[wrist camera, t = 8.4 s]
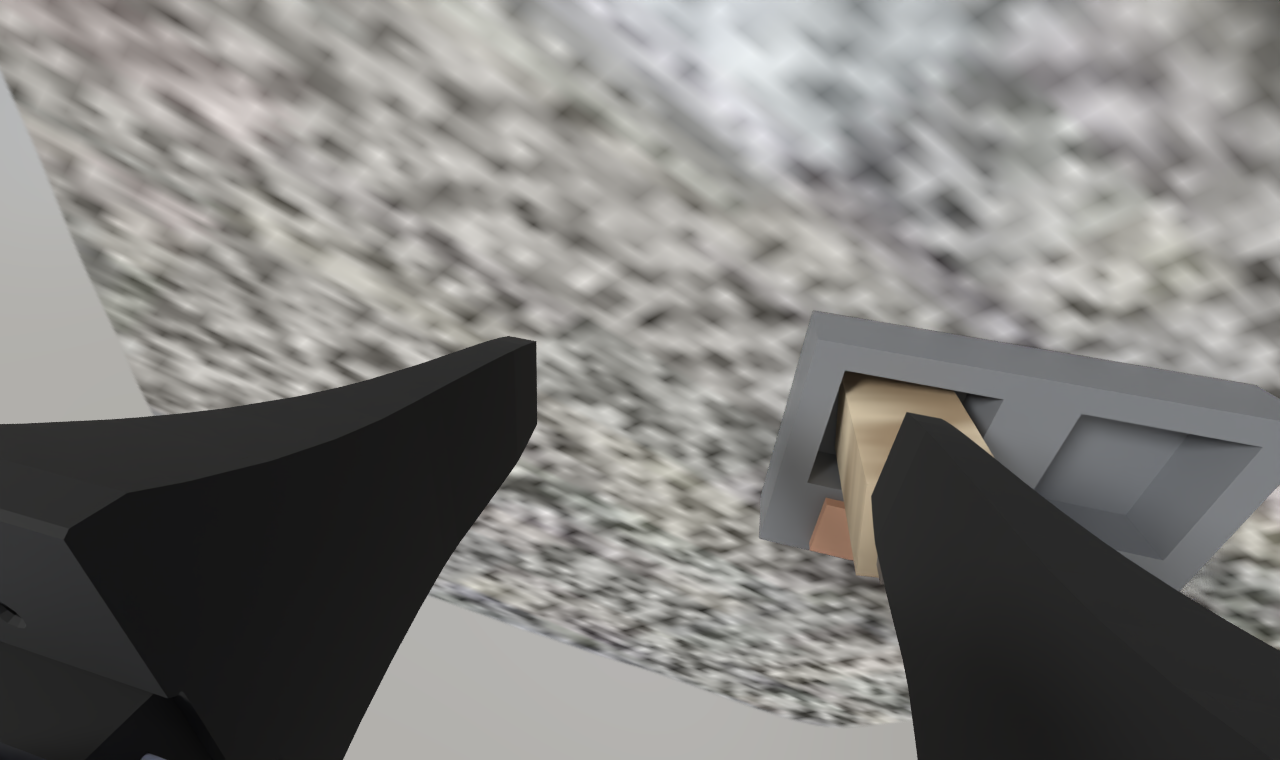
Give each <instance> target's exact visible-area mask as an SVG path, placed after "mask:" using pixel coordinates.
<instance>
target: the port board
mask: <svg viewBox="0 0 1280 760" xmlns="http://www.w3.org/2000/svg"><path fill="white" fill-rule="evenodd" d="M845 371H846V372H857V373H862V374H868V375H873V376H879V377H884V378H889V379H895V380H900V381H906V382H911V383H917V384H922V385H927V386H933V387H938V388H944V389H949V390H954V392H955V393H956V395H957V397H958V398H959V400H960V402H961V403H962V405H963V407H964V408H965V410H966V412H967V413H968V415H969V416H970V418H971V420H972V421H973V423H974V425H975V426H976V428H977V430H978V431H979V433H980V435H981V436H982V438H983V440H984V441H985V443H986V445H987V446H988V448H989V450H990V451H991V453H992V455H993V456H994V458H995V459H996V460H997V461H999V462H1000V463H1001V464H1002V465H1004V466H1005V467H1006V468H1007V469H1009V470H1010V471H1011V472H1012V473H1013V474H1015V475H1016V476H1017V477H1018V478H1020V479H1021V480H1022V481H1023V482H1025V483H1026V484H1027V485H1028V486H1030V487H1031V488H1032V489H1034V490H1035V491H1036V492H1037V493H1039V494H1040V495H1041V496H1042V497H1044V498H1045V499H1046V500H1048V501H1049V502H1050V503H1052V504H1053V505H1054V506H1056V507H1057V508H1058V509H1059V510H1061V511H1062V512H1063V513H1065V514H1066V515H1067V516H1069V517H1070V518H1072V519H1073V520H1074V521H1076V522H1077V523H1078V524H1080V525H1081V526H1083V527H1084V528H1085V529H1087V530H1088V531H1089V532H1091V533H1092V534H1093V535H1095V536H1096V537H1098V538H1099V539H1100V540H1102V541H1103V542H1105V543H1106V544H1107V545H1109V546H1110V547H1112V548H1113V549H1115V550H1116V551H1118V552H1119V553H1120V554H1122V555H1123V556H1125V557H1126V558H1128V559H1129V560H1131V561H1132V562H1134V563H1135V564H1137V565H1138V566H1140V567H1142V568H1143V569H1145V570H1146V571H1148V572H1149V573H1151V574H1152V575H1154V576H1156V577H1157V578H1159V579H1160V580H1162V581H1163V582H1165V583H1166V584H1168V585H1169V586H1171V587H1173V588H1174V589H1176V590H1177V591H1180V590H1181V589H1182V588H1183V587H1184V586H1185V585H1186V584H1187V583H1188V582H1189V580H1190V579H1191V578H1192V577H1193V576H1194V575H1195V574H1196V573H1197V572H1198V571H1199V570H1200V569H1201V568H1202V567H1203V566H1204V564H1205V563H1206V562H1207V561H1208V560H1209V559H1210V558H1211V557H1212V556H1213V555H1214V554H1215V553H1216V552H1217V551H1218V550H1219V549H1220V547H1221V546H1222V545H1223V544H1224V543H1225V542H1226V541H1227V540H1228V539H1229V538H1230V537H1231V536H1232V535H1233V534H1234V533H1235V531H1236V530H1237V529H1238V528H1239V527H1240V526H1241V525H1242V524H1243V523H1244V522H1245V521H1246V520H1247V519H1248V518H1249V517H1250V515H1251V514H1252V513H1253V512H1254V511H1255V510H1256V509H1257V508H1258V507H1259V506H1260V505H1261V504H1262V503H1263V502H1264V501H1265V500H1266V498H1267V497H1268V496H1269V495H1270V494H1271V493H1272V492H1273V491H1274V490H1275V489H1276V488H1277V487H1278V486H1279V485H1280V399H1278V398H1277V397H1275V396H1273V395H1272V394H1270V393H1268V392H1267V391H1265V390H1263V389H1262V388H1260V387H1258V386H1257V385H1252V384H1246V383H1240V382H1234V381H1228V380H1222V379H1216V378H1210V377H1204V376H1198V375H1192V374H1186V373H1181V372H1175V371H1169V370H1163V369H1157V368H1151V367H1145V366H1139V365H1133V364H1127V363H1121V362H1115V361H1109V360H1103V359H1098V358H1092V357H1086V356H1080V355H1074V354H1068V353H1062V352H1056V351H1050V350H1044V349H1038V348H1032V347H1026V346H1020V345H1015V344H1009V343H1003V342H997V341H991V340H985V339H979V338H973V337H967V336H961V335H955V334H949V333H943V332H937V331H932V330H926V329H920V328H914V327H908V326H902V325H896V324H890V323H884V322H878V321H872V320H866V319H860V318H854V317H849V316H843V315H837V314H831V313H825V312H819V311H813V312H812V316H811V319H810V323H809V326H808V330H807V333H806V337H805V340H804V344H803V348H802V351H801V355H800V358H799V362H798V365H797V369H796V372H795V376H794V380H793V383H792V387H791V390H790V394H789V397H788V401H787V405H786V408H785V412H784V415H783V419H782V422H781V426H780V429H779V433H778V437H777V440H776V444H775V447H774V451H773V454H772V458H771V461H770V465H769V469H768V472H767V476H766V479H765V483H764V486H763V490H762V493H761V502H760V528H759V539H763V540H768V541H772V542H776V543H780V544H785V545H789V546H793V547H797V548H801V549H806V550H810V551H814V552H818V553H822V554H827V555H831V556H835V557H839V558H843V559H848V560H852V561H854V559H853V553H852V547H851V541H850V535H849V529H848V523H847V517H846V511H845V505H844V500H843V494H842V488H841V482H840V476H839V470H838V464H837V458H836V452H835V436H836V423H837V411H838V398H839V387H840V384H841V381H842V378H843V375H844V372H845Z"/></svg>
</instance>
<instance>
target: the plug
mask: <svg viewBox="0 0 1280 760" xmlns="http://www.w3.org/2000/svg"><path fill="white" fill-rule="evenodd" d="M906 412H909V413H915V414H920V415H925V416H930V417H936V418H941V419H943V420H945V421H947V422H948V423H950V424H951V425H953V426H954V427H955V428H957V429H958V430H960V431H961V432H962V433H964V434H965V435H966V436H967V437H969V438H970V439H971V440H973V441H974V442H975V443H976V444H978V445H979V446H980V447H981V448H983V449H984V450H985V451H986V452H988V453H989V454H990V455H991V456H992V457H994V456H993V455H992V453H991V451H990V450H989V448H988V446H987V445H986V443H985V441H984V440H983V438H982V436H981V435H980V433H979V431H978V430H977V428H976V426H975V425H974V423H973V421H972V420H971V418H970V416H969V415H968V413H967V412H966V410H965V408H964V407H963V405H962V403H961V402H960V400H959V398H958V397H957V395H956V393H955V392H954V390H949V389H944V388H938V387H933V386H927V385H922V384H917V383H911V382H906V381H900V380H895V379H889V378H884V377H879V376H873V375H868V374H862V373H857V372H846V371H845V372H844V375H843V378H842V381H841V384H840V387H839V398H838V411H837V423H836V436H835V452H836V458H837V464H838V470H839V476H840V482H841V488H842V494H843V500H844V505H845V511H846V517H847V523H848V529H849V535H850V541H851V547H852V553H853V559H854V565H855V571H856V575H859V576H869V577H879V580H880V584H881V585H884V581H883V577H882V572H881V568H880V564H879V559H878V555H877V551H876V546H875V539H874V529H873V518H872V503H871V495H872V493H873V490H874V488H875V486H876V483H877V481H878V479H879V476H880V474H881V471H882V469H883V467H884V464H885V462H886V460H887V457H888V455H889V452H890V450H891V448H892V445H893V443H894V441H895V438H896V436H897V433H898V431H899V429H900V426H901V424H902V421H903V419H904V417H905V414H906Z"/></svg>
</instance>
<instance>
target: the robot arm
mask: <svg viewBox="0 0 1280 760" xmlns="http://www.w3.org/2000/svg"><path fill="white" fill-rule="evenodd" d="M536 425H537V370H536V341H531V340H526V339H521V338H516V337H510V336H507V337H502V338H497V339H494V340H490V341H487V342H484V343H481V344H478V345H475V346H472V347H469V348H466V349H463V350H460V351H457V352H454V353H451V354H448V355H445V356H442V357H439V358H437V359H434V360H431V361H428V362H425V363H422V364H419V365H416V366H412V367H409V368H406V369H402V370H399V371H396V372H393V373H389V374H386V375H383V376H380V377H376V378H373V379H370V380H366V381H362V382H359V383H355V384H351V385H347V386H343V387H339V388H334V389H330V390H325V391H321V392H316V393H312V394H307V395H302V396H297V397H292V398H286V399H280V400H274V401H268V402H262V403H255V404H249V405H243V406H237V407H231V408H224V409H216V410H208V411H199V412H191V413H182V414H171V415H161V416H150V417H139V418H125V419H112V420H92V421H70V422H51V423H50V422H49V423H29V424H0V760H343V758H344V756H345V754H346V752H347V750H348V748H349V746H350V743H351V741H352V739H353V737H354V735H355V733H356V731H357V729H358V726H359V724H360V722H361V720H362V718H363V716H364V714H365V712H366V710H367V708H368V706H369V704H370V702H371V700H372V699H373V697H374V695H375V692H376V691H377V689H378V687H379V685H380V683H381V681H382V679H383V676H384V675H385V673H386V671H387V669H388V667H389V665H390V663H391V661H392V659H393V657H394V655H395V653H396V652H397V649H398V648H399V646H400V644H401V642H402V641H403V639H404V637H405V635H406V633H407V631H408V629H409V627H410V626H411V624H412V622H413V620H414V618H415V616H416V615H417V613H418V611H419V609H420V607H421V606H422V603H423V602H424V600H425V599H426V597H427V595H428V593H429V592H430V590H431V588H432V586H433V585H434V583H435V581H436V579H437V578H438V576H439V574H440V572H441V571H442V569H443V567H444V566H445V564H446V562H447V561H448V559H449V558H450V556H451V555H452V553H453V552H454V550H455V549H456V547H457V546H458V544H459V543H460V541H461V540H462V539H463V537H464V536H465V535H466V533H467V532H468V530H469V529H470V528H471V526H472V525H473V524H474V522H475V521H476V519H477V518H478V517H479V515H480V514H481V512H482V511H483V510H484V508H485V507H486V506H487V504H488V503H489V501H490V500H491V499H492V497H493V496H494V495H495V493H496V492H497V490H498V489H499V488H500V486H501V485H502V483H503V482H504V481H505V479H506V478H507V476H508V475H509V474H510V472H511V471H512V469H513V468H514V466H515V465H516V463H517V462H518V460H519V458H520V457H521V455H522V453H523V451H524V449H525V447H526V445H527V443H528V441H529V439H530V437H531V435H532V433H533V431H534V429H535V427H536ZM871 503H872V518H873V529H874V539H875V546H876V551H877V555H878V559H879V564H880V568H881V572H882V577H883V581H884V585H885V589H886V593H887V597H888V601H889V605H890V609H891V614H892V618H893V622H894V626H895V630H896V634H897V638H898V642H899V646H900V650H901V655H902V659H903V663H904V668H905V673H906V679H907V684H908V689H909V696H910V704H911V711H912V719H913V726H914V734H915V741H916V749H917V757H918V760H1280V651H1279V650H1277V649H1275V648H1273V647H1272V646H1270V645H1268V644H1266V643H1265V642H1263V641H1261V640H1259V639H1258V638H1256V637H1254V636H1252V635H1251V634H1249V633H1247V632H1245V631H1244V630H1242V629H1240V628H1239V627H1237V626H1235V625H1233V624H1232V623H1230V622H1228V621H1226V620H1225V619H1223V618H1221V617H1220V616H1218V615H1216V614H1215V613H1213V612H1211V611H1210V610H1208V609H1206V608H1205V607H1203V606H1201V605H1200V604H1198V603H1196V602H1195V601H1193V600H1191V599H1190V598H1188V597H1187V596H1185V595H1183V594H1182V593H1180V592H1179V591H1177V590H1176V589H1174V588H1173V587H1171V586H1169V585H1168V584H1166V583H1165V582H1163V581H1162V580H1160V579H1159V578H1157V577H1156V576H1154V575H1152V574H1151V573H1149V572H1148V571H1146V570H1145V569H1143V568H1142V567H1140V566H1138V565H1137V564H1135V563H1134V562H1132V561H1131V560H1129V559H1128V558H1126V557H1125V556H1123V555H1122V554H1120V553H1119V552H1118V551H1116V550H1115V549H1113V548H1112V547H1110V546H1109V545H1107V544H1106V543H1105V542H1103V541H1102V540H1100V539H1099V538H1098V537H1096V536H1095V535H1093V534H1092V533H1091V532H1089V531H1088V530H1087V529H1085V528H1084V527H1083V526H1081V525H1080V524H1078V523H1077V522H1076V521H1074V520H1073V519H1072V518H1070V517H1069V516H1067V515H1066V514H1065V513H1063V512H1062V511H1061V510H1059V509H1058V508H1057V507H1056V506H1054V505H1053V504H1052V503H1050V502H1049V501H1048V500H1046V499H1045V498H1044V497H1042V496H1041V495H1040V494H1039V493H1037V492H1036V491H1035V490H1034V489H1032V488H1031V487H1030V486H1028V485H1027V484H1026V483H1025V482H1023V481H1022V480H1021V479H1020V478H1018V477H1017V476H1016V475H1015V474H1013V473H1012V472H1011V471H1010V470H1009V469H1007V468H1006V467H1005V466H1004V465H1002V464H1001V463H1000V462H999V461H997V460H996V459H995V458H994V457H992V456H991V455H990V454H989V453H988V452H986V451H985V450H984V449H983V448H981V447H980V446H979V445H978V444H976V443H975V442H974V441H973V440H971V439H970V438H969V437H967V436H966V435H965V434H964V433H962V432H961V431H960V430H958V429H957V428H955V427H954V426H953V425H951V424H950V423H948V422H947V421H945V420H943V419H941V418H936V417H930V416H925V415H920V414H915V413H909V412H906V414H905V417H904V419H903V421H902V424H901V426H900V429H899V431H898V433H897V436H896V438H895V441H894V443H893V445H892V448H891V450H890V452H889V455H888V457H887V460H886V462H885V464H884V467H883V469H882V471H881V474H880V476H879V479H878V481H877V483H876V486H875V488H874V490H873V493H872V495H871Z"/></svg>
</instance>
